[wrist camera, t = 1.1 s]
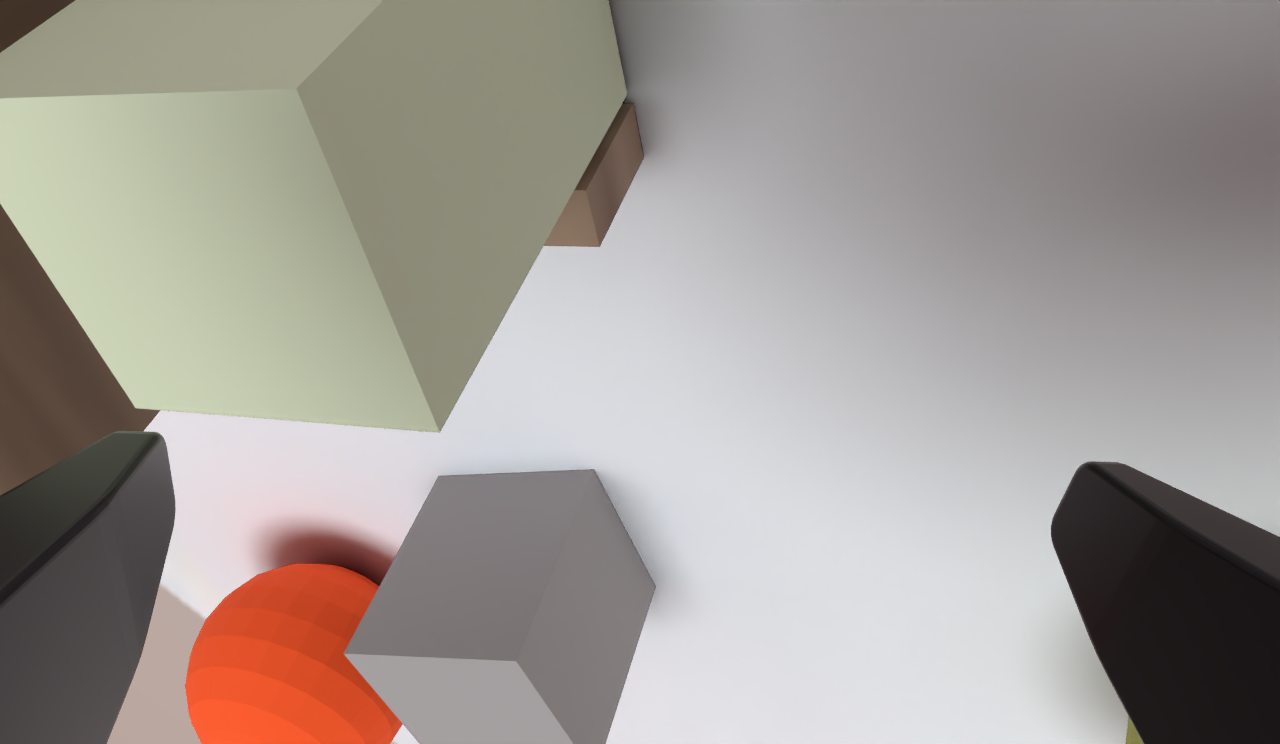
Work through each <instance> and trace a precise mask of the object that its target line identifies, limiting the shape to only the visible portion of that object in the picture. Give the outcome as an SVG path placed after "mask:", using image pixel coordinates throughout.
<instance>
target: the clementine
mask: <svg viewBox="0 0 1280 744" xmlns="http://www.w3.org/2000/svg"><path fill="white" fill-rule="evenodd" d="M378 588H379V586H378V585H377V584H375V583H374V582H372V581H371V580H369V579H368V578H366V577H365V576H363V575H361V574H359V573H357V572H355V571H352V570H349V569H346V568H343V567H341V566H335V565H330V564H296V563H295V564H291V565H287V566H283V567H280V568H277V569H274V570H271V571H268V572H264V573H261V574H258V575H256V576H255V577H254V578H252V579H251V580H249V581H248V582H246V583H245V584H243V585H242V586H240V587H239V588H237V589H236V590H234V591H233V592H232V593H230V594H229V595H228V596H227V597H225V598H224V599H223V601H222V602H221V603H220V604H219V605H218V606H217V607H216V609H215V610H214V611H213V612H212V613H211V614H210V616H209V617H208V618H207V619H206V620H205V623H204V625H203V627H202V629H201V631H200V633H199V635H198V637H197V639H196V642H195V644H194V646H193V649H192V652H191V655H190V660H189V666H188V671H187V678H186V684H185V688H186V695H187V702H188V710H189V716H190V719H191V722H192V725H193V727H194V729H195V731H196V733H197V735H198V737H199V739H200V741H201V743H202V744H390V743H391V741H392V740H393V738H394V737H395V735H396V733H397V732H398V730H399V729H400V727H401V726H402V724H403V723H402V722H401V721H400V720H399V719H398V717H397V716H396V715H395V714H394V713H393V712H392V710H391V709H390V708H389V707H388V706H387V705H386V703H385V702H384V701H383V700H382V699H381V697H380V696H379V695H378V694H377V693H376V692H375V690H374V689H373V688H372V687H371V686H370V684H369V683H368V682H367V681H366V680H365V679H364V677H363V676H362V675H361V674H360V673H359V671H358V670H357V669H356V668H355V667H354V666H353V664H352V663H351V662H350V661H349V660H348V658H347V657H346V656H345V655H344V654H343V653H344V652H345V650H346V648H347V646H348V644H349V642H350V640H351V639H352V637H353V635H354V633H355V631H356V629H357V627H358V625H359V624H360V622H361V620H362V618H363V616H364V614H365V612H366V611H367V609H368V607H369V605H370V603H371V601H372V599H373V597H374V596H375V594H376V592H377V590H378Z"/></svg>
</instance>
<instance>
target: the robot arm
mask: <svg viewBox="0 0 1280 744" xmlns="http://www.w3.org/2000/svg"><path fill="white" fill-rule="evenodd" d="M174 520H175V495H174V489H173V483H172V477H171V471H170V464H169V458H168V452H167V446H166V443H165V440H164V438H163V437H162V436H161V435H160V434H159V433H157V432H141V431H117V432H114V433H111V434H109V435H107V436H105V437H104V438H102V439H100V440H98V441H97V442H95V443H93V444H91V445H89V446H88V447H86V448H84V449H82V450H81V451H79V452H77V453H75V454H73V455H72V456H70V457H68V458H66V459H65V460H63V461H61V462H59V463H57V464H56V465H54V466H52V467H50V468H49V469H47V470H45V471H43V472H41V473H40V474H38V475H36V476H34V477H32V478H31V479H29V480H27V481H25V482H24V483H22V484H20V485H18V486H16V487H15V488H13V489H11V490H9V491H8V492H6V493H4V494H2V495H0V744H107V742H108V739H109V737H110V734H111V731H112V729H113V726H114V724H115V722H116V719H117V717H118V714H119V711H120V709H121V707H122V704H123V701H124V699H125V697H126V694H127V692H128V689H129V687H130V684H131V682H132V679H133V677H134V673H135V671H136V668H137V666H138V663H139V660H140V657H141V654H142V650H143V647H144V643H145V640H146V636H147V632H148V628H149V624H150V620H151V616H152V612H153V608H154V604H155V599H156V596H157V591H158V588H159V584H160V580H161V576H162V572H163V568H164V563H165V559H166V555H167V551H168V547H169V543H170V539H171V535H172V531H173V526H174ZM1051 537H1052V542H1053V546H1054V549H1055V551H1056V554H1057V556H1058V559H1059V561H1060V564H1061V566H1062V569H1063V571H1064V574H1065V576H1066V579H1067V582H1068V584H1069V587H1070V589H1071V592H1072V594H1073V597H1074V599H1075V602H1076V604H1077V607H1078V609H1079V612H1080V614H1081V617H1082V620H1083V622H1084V625H1085V627H1086V630H1087V632H1088V635H1089V637H1090V640H1091V642H1092V644H1093V646H1094V649H1095V651H1096V653H1097V656H1098V658H1099V660H1100V662H1101V664H1102V666H1103V668H1104V670H1105V672H1106V674H1107V676H1108V678H1109V680H1110V682H1111V683H1112V685H1113V687H1114V689H1115V691H1116V693H1117V695H1118V697H1119V699H1120V700H1121V702H1122V704H1123V706H1124V708H1125V710H1126V712H1127V714H1128V716H1129V717H1130V719H1131V721H1132V723H1133V725H1134V727H1135V729H1136V731H1137V733H1138V734H1139V736H1140V738H1141V740H1142V742H1143V744H1280V537H1279V536H1276V535H1274V534H1272V533H1270V532H1268V531H1266V530H1264V529H1262V528H1259V527H1257V526H1255V525H1253V524H1251V523H1249V522H1247V521H1244V520H1242V519H1240V518H1238V517H1236V516H1234V515H1232V514H1230V513H1227V512H1225V511H1223V510H1221V509H1219V508H1217V507H1215V506H1213V505H1210V504H1208V503H1206V502H1204V501H1202V500H1200V499H1198V498H1196V497H1193V496H1191V495H1189V494H1187V493H1185V492H1183V491H1181V490H1179V489H1176V488H1174V487H1172V486H1170V485H1168V484H1166V483H1164V482H1162V481H1159V480H1157V479H1155V478H1153V477H1151V476H1149V475H1147V474H1144V473H1142V472H1140V471H1138V470H1136V469H1134V468H1132V467H1130V466H1127V465H1125V464H1121V463H1118V462H1086V463H1084V464H1082V465H1081V466H1080V467H1079V468H1078V469H1077V471H1076V472H1075V474H1074V476H1073V478H1072V480H1071V482H1070V484H1069V486H1068V488H1067V490H1066V492H1065V494H1064V496H1063V498H1062V500H1061V502H1060V504H1059V506H1058V508H1057V510H1056V512H1055V514H1054V517H1053V520H1052V525H1051Z"/></svg>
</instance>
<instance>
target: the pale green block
mask: <svg viewBox="0 0 1280 744" xmlns="http://www.w3.org/2000/svg"><path fill="white" fill-rule="evenodd" d="M626 96H627V90H626V85H625V80H624V75H623V70H622V65H621V60H620V55H619V50H618V45H617V40H616V35H615V30H614V25H613V20H612V15H611V10H610V5H609V0H75V1H74V2H72V3H71V4H69V5H68V6H67V7H65V8H64V9H62V10H61V11H59V12H58V13H57V14H55V15H54V16H52V17H51V18H49V19H48V20H47V21H45V22H44V23H42V24H41V25H39V26H38V27H37V28H35V29H34V30H32V31H31V32H29V33H28V34H27V35H25V36H24V37H22V38H21V39H19V40H18V41H17V42H15V43H14V44H12V45H11V46H9V47H8V48H6V49H5V50H4V51H2V52H1V53H0V204H1V205H2V207H3V209H4V210H5V212H6V213H7V215H8V216H9V218H10V219H11V221H12V222H13V224H14V225H15V227H16V228H17V230H18V231H19V233H20V234H21V236H22V237H23V239H24V240H25V242H26V243H27V245H28V246H29V248H30V249H31V251H32V252H33V254H34V255H35V257H36V258H37V260H38V261H39V263H40V264H41V266H42V267H43V269H44V270H45V272H46V273H47V275H48V277H49V278H50V280H51V281H52V283H53V284H54V286H55V287H56V289H57V290H58V292H59V293H60V295H61V296H62V298H63V299H64V301H65V302H66V304H67V305H68V307H69V308H70V310H71V311H72V313H73V314H74V316H75V317H76V319H77V320H78V322H79V323H80V325H81V326H82V328H83V329H84V331H85V332H86V334H87V335H88V337H89V338H90V340H91V341H92V343H93V345H94V346H95V348H96V349H97V351H98V352H99V354H100V355H101V357H102V358H103V360H104V361H105V363H106V364H107V366H108V367H109V369H110V370H111V372H112V373H113V375H114V376H115V378H116V379H117V381H118V382H119V384H120V385H121V387H122V388H123V390H124V391H125V393H126V394H127V396H128V397H129V399H130V400H131V402H132V403H133V405H134V406H135V408H139V409H152V410H164V411H177V412H189V413H202V414H214V415H227V416H239V417H252V418H264V419H276V420H289V421H301V422H314V423H326V424H339V425H351V426H364V427H376V428H389V429H401V430H414V431H426V432H439V433H440V431H441V429H442V428H443V426H444V424H445V422H446V420H447V419H448V417H449V415H450V413H451V411H452V410H453V408H454V406H455V404H456V402H457V401H458V399H459V397H460V395H461V393H462V391H463V390H464V388H465V386H466V384H467V382H468V381H469V379H470V377H471V375H472V373H473V372H474V370H475V368H476V366H477V364H478V363H479V361H480V359H481V357H482V355H483V354H484V352H485V350H486V348H487V346H488V345H489V343H490V341H491V339H492V337H493V336H494V334H495V332H496V330H497V328H498V327H499V325H500V323H501V321H502V319H503V318H504V316H505V314H506V312H507V310H508V309H509V307H510V305H511V303H512V301H513V300H514V298H515V296H516V294H517V292H518V291H519V289H520V287H521V285H522V283H523V282H524V280H525V278H526V276H527V274H528V273H529V271H530V269H531V267H532V265H533V264H534V262H535V260H536V258H537V256H538V255H539V253H540V251H541V249H542V247H543V246H544V244H545V242H546V240H547V238H548V237H549V235H550V233H551V231H552V229H553V228H554V226H555V224H556V222H557V220H558V219H559V217H560V215H561V213H562V211H563V209H564V208H565V206H566V204H567V202H568V200H569V199H570V197H571V195H572V193H573V191H574V190H575V188H576V186H577V184H578V182H579V181H580V179H581V177H582V175H583V173H584V172H585V170H586V168H587V166H588V164H589V163H590V161H591V159H592V157H593V155H594V154H595V152H596V150H597V148H598V146H599V145H600V143H601V141H602V139H603V137H604V136H605V134H606V132H607V130H608V128H609V127H610V125H611V123H612V121H613V119H614V118H615V116H616V114H617V112H618V110H619V109H620V107H621V105H622V103H623V101H624V100H625V98H626Z"/></svg>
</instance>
